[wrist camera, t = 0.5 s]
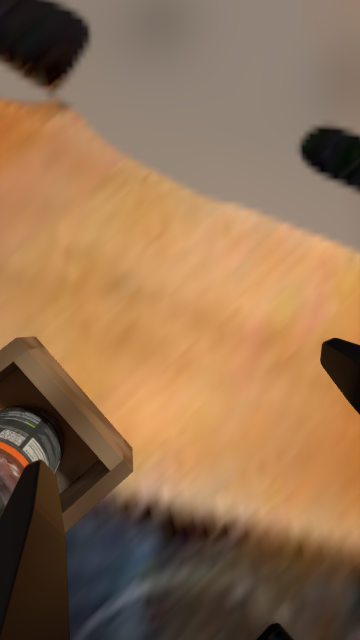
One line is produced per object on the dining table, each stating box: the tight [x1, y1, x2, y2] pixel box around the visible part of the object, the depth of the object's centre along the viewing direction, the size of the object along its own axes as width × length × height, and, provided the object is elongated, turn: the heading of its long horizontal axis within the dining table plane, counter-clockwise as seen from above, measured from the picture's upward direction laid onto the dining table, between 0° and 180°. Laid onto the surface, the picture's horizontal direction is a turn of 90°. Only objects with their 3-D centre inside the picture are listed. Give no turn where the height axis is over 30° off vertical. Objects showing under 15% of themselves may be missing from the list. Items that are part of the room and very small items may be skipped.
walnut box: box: [0, 337, 133, 533], centre depth 21 cm, size 11×11×4 cm
